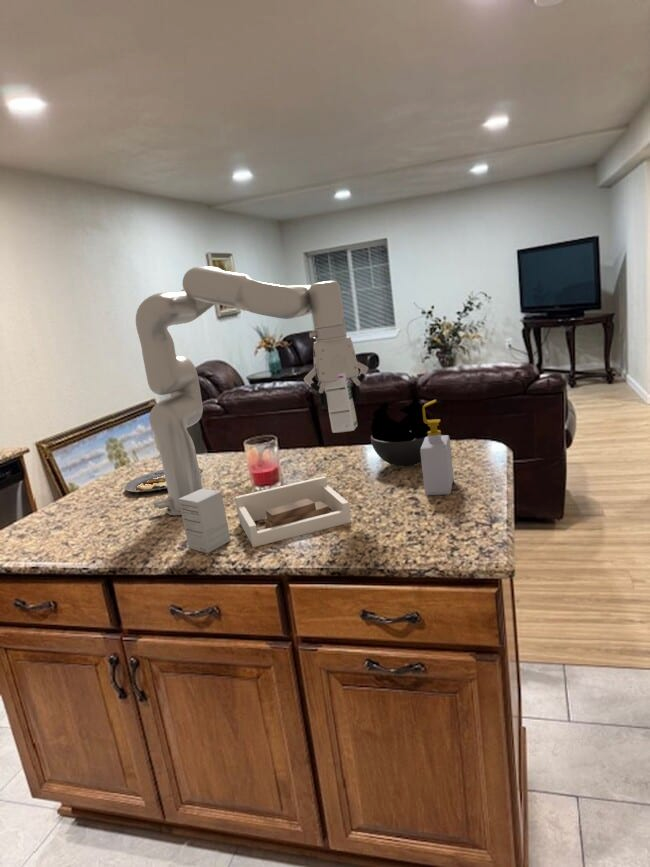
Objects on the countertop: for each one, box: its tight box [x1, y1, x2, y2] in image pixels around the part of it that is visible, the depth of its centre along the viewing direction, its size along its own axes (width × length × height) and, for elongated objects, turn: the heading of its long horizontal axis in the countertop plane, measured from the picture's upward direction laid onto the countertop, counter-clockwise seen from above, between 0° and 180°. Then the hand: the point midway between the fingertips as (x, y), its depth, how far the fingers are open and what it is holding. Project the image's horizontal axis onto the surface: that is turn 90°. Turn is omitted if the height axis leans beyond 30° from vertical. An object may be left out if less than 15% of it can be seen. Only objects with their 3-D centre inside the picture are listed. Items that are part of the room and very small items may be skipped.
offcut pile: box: [256, 498, 333, 531], centre depth 145 cm, size 18×6×6 cm, turn 116°
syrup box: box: [324, 373, 359, 434], centre depth 149 cm, size 6×6×14 cm
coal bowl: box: [370, 402, 432, 468], centre depth 179 cm, size 20×20×19 cm
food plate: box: [124, 467, 203, 493], centre depth 200 cm, size 25×23×4 cm
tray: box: [234, 476, 352, 548], centre depth 148 cm, size 24×18×7 cm
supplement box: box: [178, 488, 232, 554], centre depth 140 cm, size 7×7×13 cm
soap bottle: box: [420, 399, 454, 496], centre depth 156 cm, size 12×7×23 cm, turn 165°
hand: (340, 404), depth 149 cm, fingers closed on syrup box, 7 cm apart
